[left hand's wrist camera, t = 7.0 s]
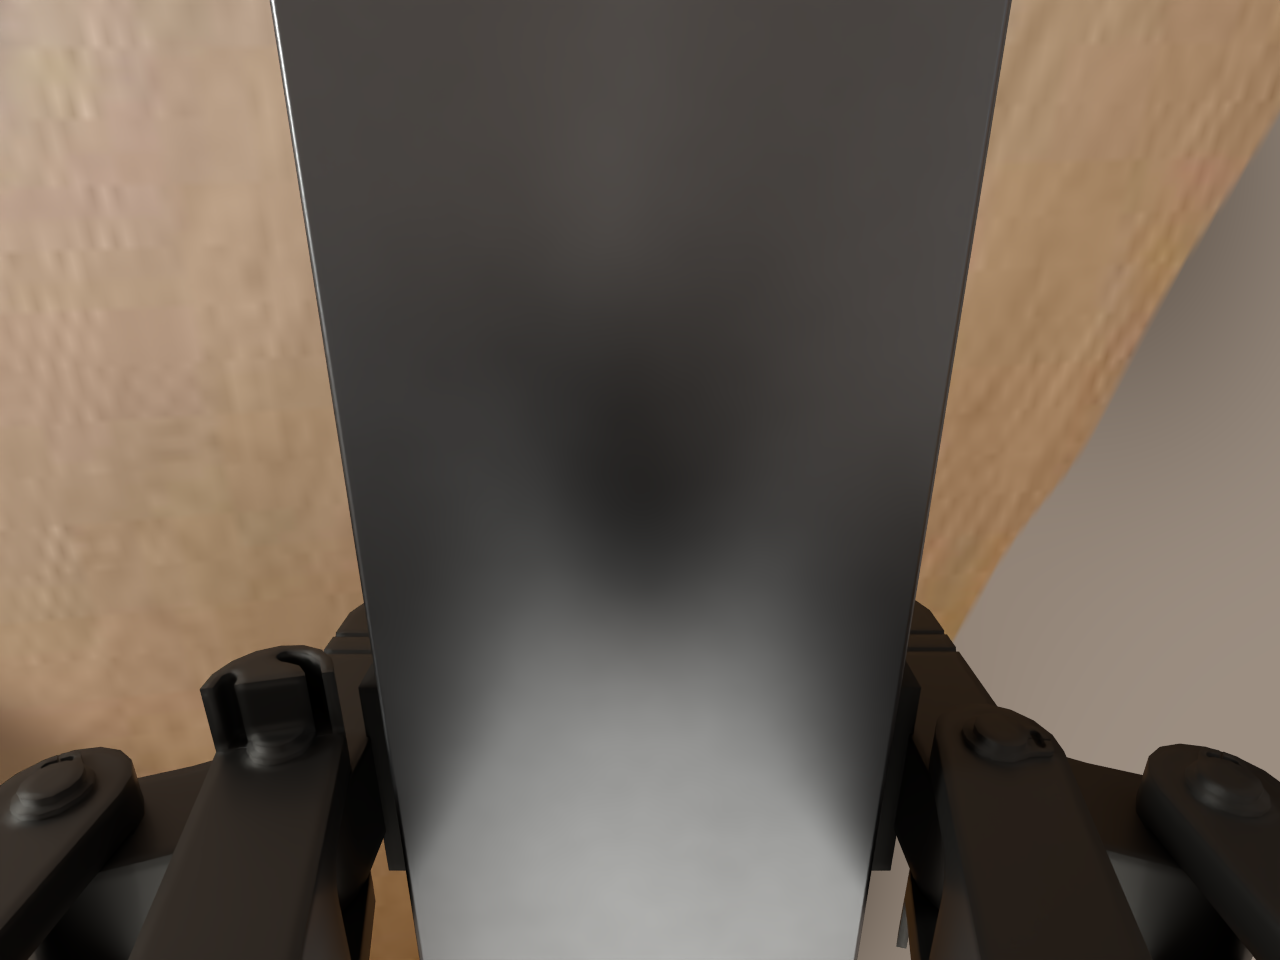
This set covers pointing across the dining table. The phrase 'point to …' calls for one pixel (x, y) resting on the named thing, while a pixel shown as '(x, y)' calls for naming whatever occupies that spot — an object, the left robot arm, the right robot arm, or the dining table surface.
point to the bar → (639, 438)
